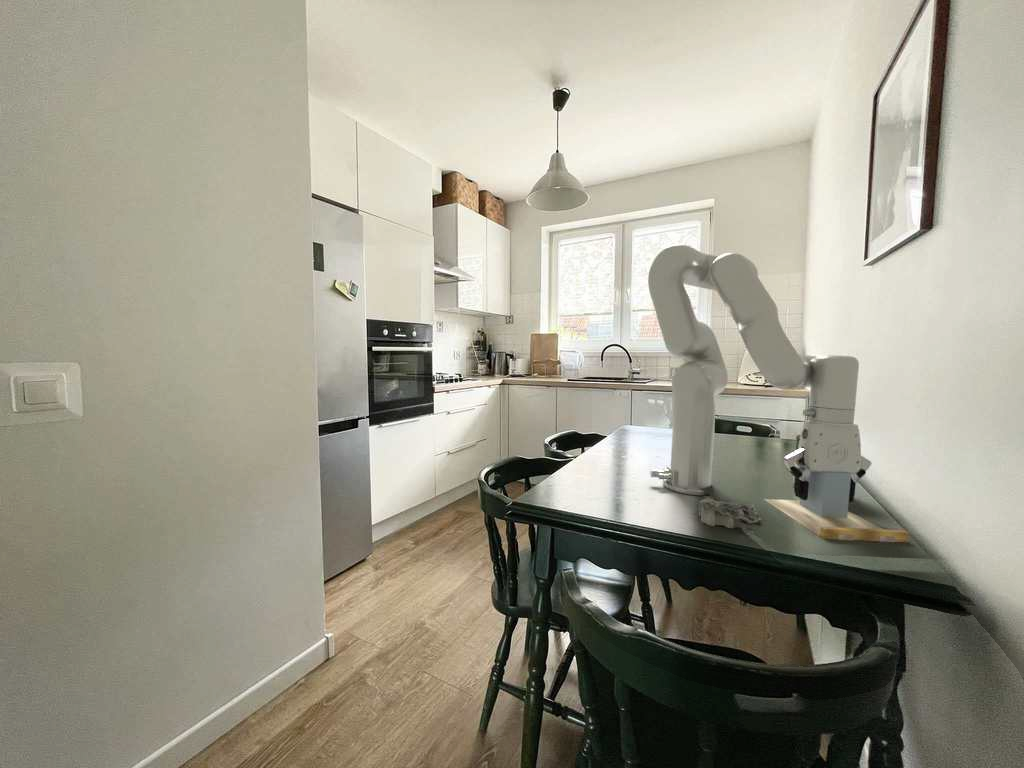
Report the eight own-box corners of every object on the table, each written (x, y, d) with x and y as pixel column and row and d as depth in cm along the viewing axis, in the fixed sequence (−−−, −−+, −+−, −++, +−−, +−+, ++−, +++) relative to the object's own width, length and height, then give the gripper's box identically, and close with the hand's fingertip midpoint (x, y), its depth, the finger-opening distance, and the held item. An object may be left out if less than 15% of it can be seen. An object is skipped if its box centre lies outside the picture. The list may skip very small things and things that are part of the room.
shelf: (823, 547, 76) (825, 529, 76) (762, 505, 96) (763, 491, 96) (908, 550, 75) (910, 533, 75) (829, 508, 95) (830, 494, 95)
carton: (821, 516, 86) (825, 472, 86) (799, 504, 93) (803, 463, 92) (848, 517, 86) (852, 473, 85) (825, 505, 93) (828, 464, 92)
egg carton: (699, 525, 85) (700, 505, 85) (697, 512, 92) (698, 493, 92) (761, 534, 81) (762, 513, 81) (754, 519, 88) (755, 500, 88)
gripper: (798, 417, 85) (791, 503, 86) (890, 420, 84) (881, 507, 85) (776, 411, 92) (770, 491, 94) (860, 414, 91) (853, 494, 93)
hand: (823, 498), depth 89 cm, fingers open, 8 cm apart
